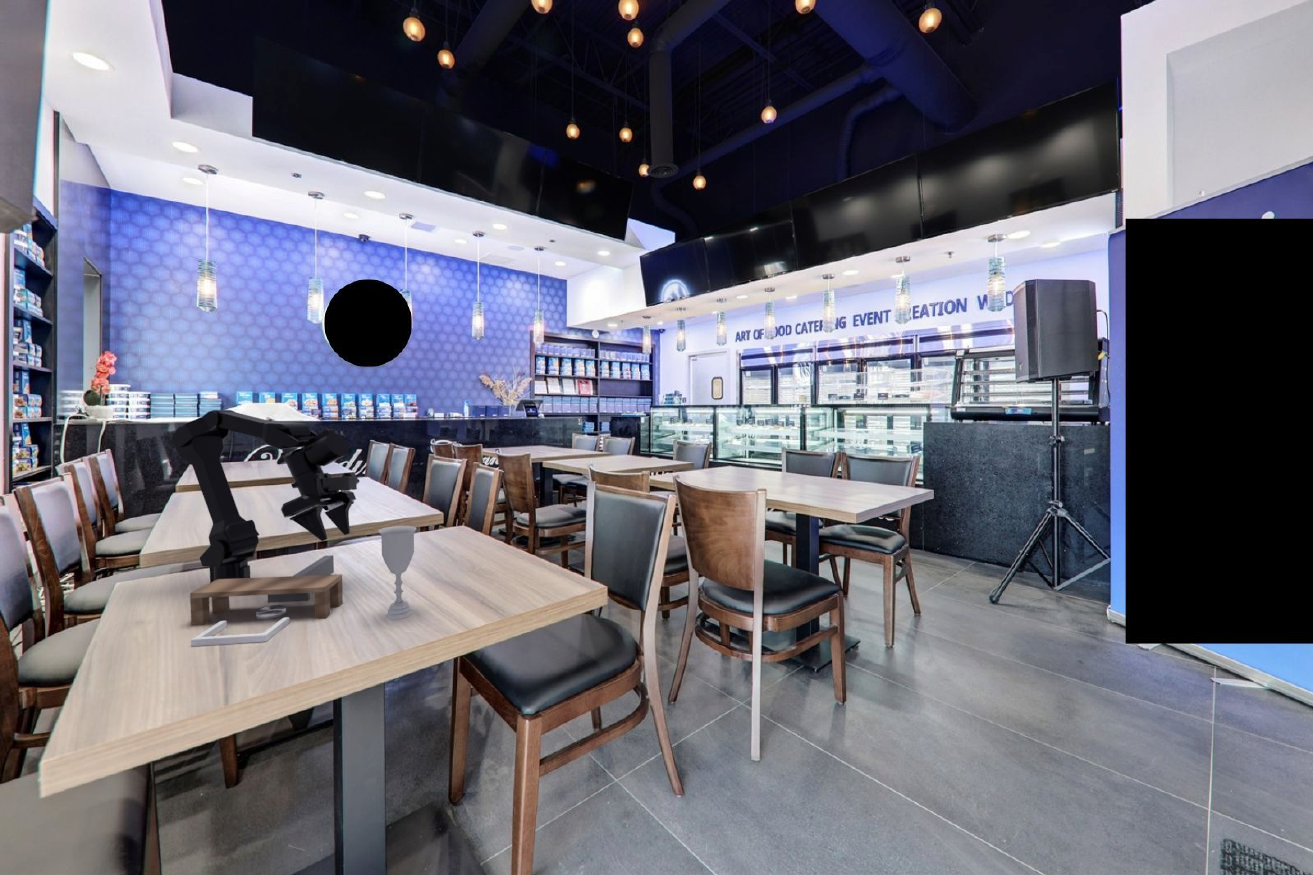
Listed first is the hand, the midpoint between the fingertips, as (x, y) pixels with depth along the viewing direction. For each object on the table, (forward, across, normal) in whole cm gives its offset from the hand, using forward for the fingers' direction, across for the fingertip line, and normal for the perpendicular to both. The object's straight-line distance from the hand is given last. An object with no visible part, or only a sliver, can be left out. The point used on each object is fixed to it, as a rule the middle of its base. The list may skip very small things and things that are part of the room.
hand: (336, 537), depth 114 cm
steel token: (+10, -8, +14) cm, 19 cm away
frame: (+11, -16, +14) cm, 24 cm away
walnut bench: (+10, -8, +14) cm, 19 cm away
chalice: (+21, -9, -10) cm, 25 cm away
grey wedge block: (+7, +9, +15) cm, 19 cm away
